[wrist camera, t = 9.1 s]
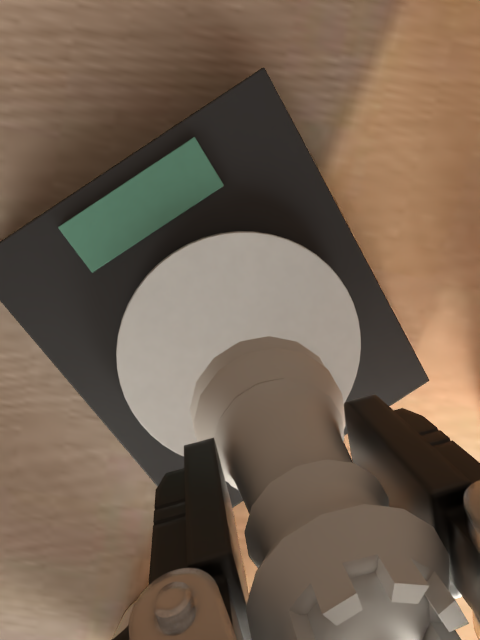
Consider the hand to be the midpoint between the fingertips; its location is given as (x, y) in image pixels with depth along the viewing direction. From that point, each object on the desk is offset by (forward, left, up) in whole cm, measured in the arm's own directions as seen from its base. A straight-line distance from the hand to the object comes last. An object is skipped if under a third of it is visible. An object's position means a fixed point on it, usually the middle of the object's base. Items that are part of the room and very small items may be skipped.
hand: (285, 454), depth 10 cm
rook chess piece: (0, 0, -3) cm, 3 cm away
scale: (-1, 0, -10) cm, 10 cm away
